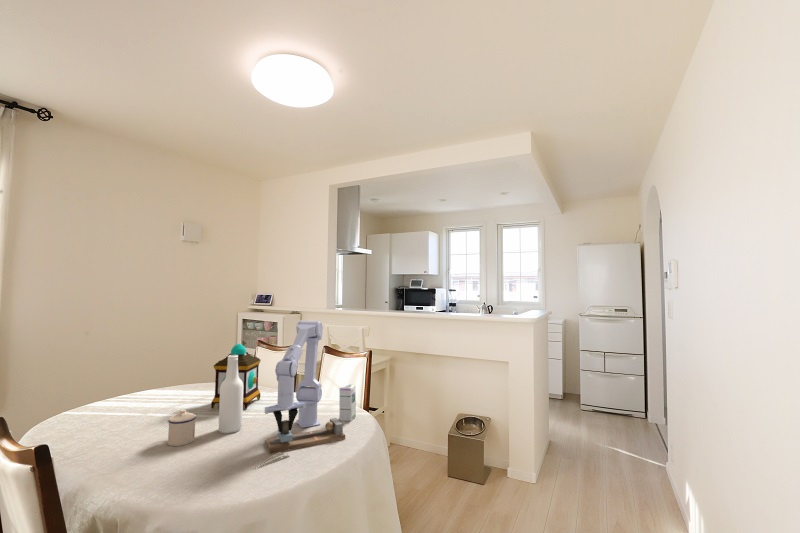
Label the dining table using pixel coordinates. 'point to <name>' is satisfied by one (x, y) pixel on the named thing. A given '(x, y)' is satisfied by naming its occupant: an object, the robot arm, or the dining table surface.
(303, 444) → the press bench
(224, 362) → the decorative lantern
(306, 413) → the robot arm
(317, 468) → the dining table surface
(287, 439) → the handle
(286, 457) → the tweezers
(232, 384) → the alcohol
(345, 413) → the syrup box
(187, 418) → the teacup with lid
